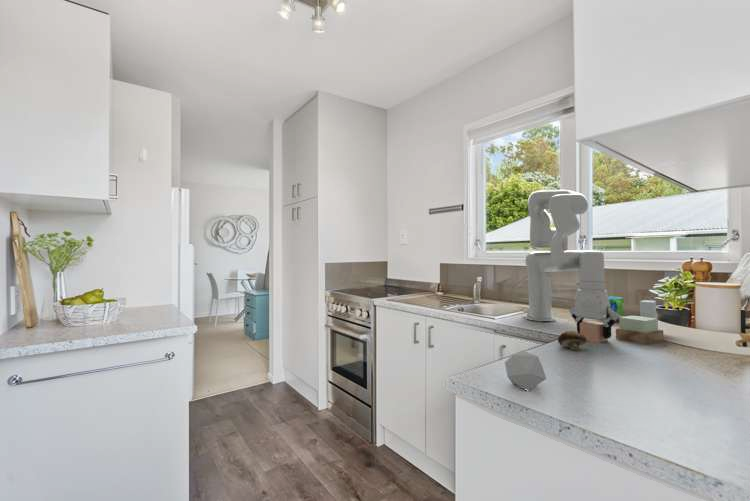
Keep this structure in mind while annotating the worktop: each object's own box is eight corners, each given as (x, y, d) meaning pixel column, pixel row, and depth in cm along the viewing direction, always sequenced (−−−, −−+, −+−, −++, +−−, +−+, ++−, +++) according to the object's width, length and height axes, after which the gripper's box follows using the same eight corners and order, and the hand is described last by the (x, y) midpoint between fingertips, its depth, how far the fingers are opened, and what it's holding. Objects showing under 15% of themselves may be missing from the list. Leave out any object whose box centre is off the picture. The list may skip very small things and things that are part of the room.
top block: (619, 328, 123) (619, 317, 123) (632, 326, 127) (631, 315, 127) (645, 332, 116) (645, 320, 116) (658, 330, 120) (657, 318, 120)
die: (555, 395, 77) (547, 353, 83) (535, 383, 73) (528, 339, 79) (520, 399, 82) (516, 359, 88) (500, 388, 78) (496, 347, 84)
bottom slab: (616, 340, 124) (615, 328, 124) (631, 336, 128) (630, 325, 128) (648, 346, 115) (648, 333, 115) (663, 342, 120) (663, 330, 120)
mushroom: (584, 343, 105) (578, 324, 109) (557, 350, 110) (552, 331, 113) (593, 352, 110) (586, 333, 114) (567, 358, 114) (561, 339, 118)
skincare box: (655, 335, 127) (654, 302, 127) (640, 333, 130) (639, 301, 131) (658, 332, 131) (657, 300, 132) (643, 331, 135) (642, 299, 135)
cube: (580, 339, 124) (579, 322, 124) (590, 337, 127) (589, 320, 127) (597, 343, 118) (597, 325, 119) (607, 340, 121) (607, 323, 121)
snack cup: (632, 322, 151) (631, 299, 151) (606, 322, 152) (605, 299, 152) (612, 316, 166) (612, 295, 166) (589, 316, 168) (588, 295, 168)
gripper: (562, 285, 129) (563, 332, 128) (612, 288, 113) (614, 342, 113) (574, 284, 132) (575, 330, 132) (625, 287, 117) (626, 339, 117)
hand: (593, 335), depth 123 cm, fingers open, 8 cm apart
